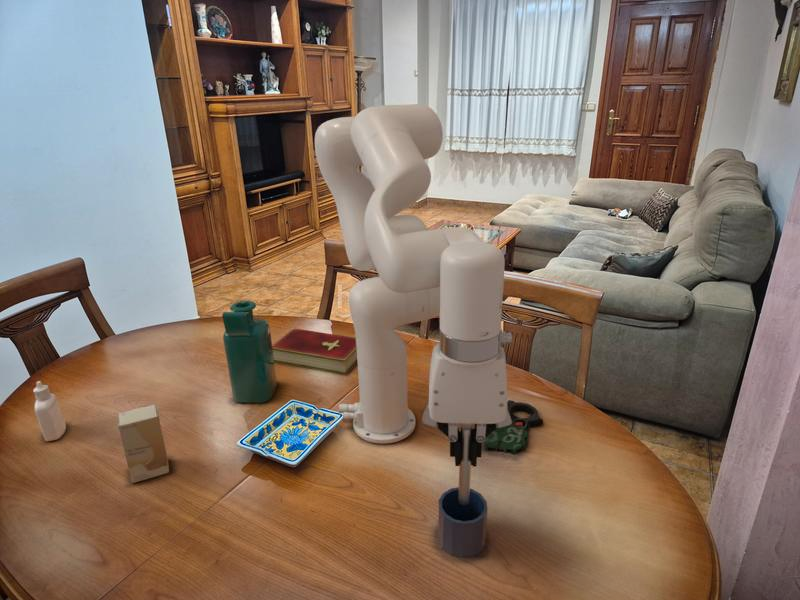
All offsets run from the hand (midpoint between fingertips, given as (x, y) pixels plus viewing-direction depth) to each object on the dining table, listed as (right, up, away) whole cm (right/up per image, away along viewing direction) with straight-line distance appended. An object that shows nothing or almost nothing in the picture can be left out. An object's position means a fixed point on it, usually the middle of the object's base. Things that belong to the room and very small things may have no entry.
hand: (465, 459), depth 71 cm
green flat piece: (+14, -4, +30) cm, 33 cm away
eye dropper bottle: (-78, -5, +32) cm, 85 cm away
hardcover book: (-30, +7, +59) cm, 67 cm away
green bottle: (-42, +1, +44) cm, 60 cm away
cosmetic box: (-54, -9, +21) cm, 59 cm away
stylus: (0, -7, +3) cm, 8 cm away
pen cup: (0, -14, +6) cm, 15 cm away
